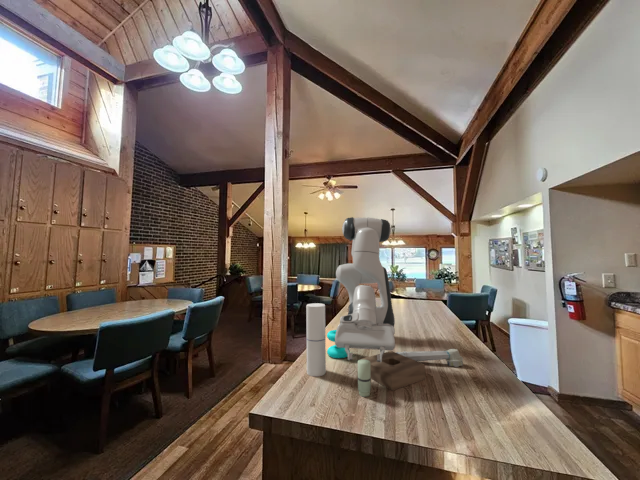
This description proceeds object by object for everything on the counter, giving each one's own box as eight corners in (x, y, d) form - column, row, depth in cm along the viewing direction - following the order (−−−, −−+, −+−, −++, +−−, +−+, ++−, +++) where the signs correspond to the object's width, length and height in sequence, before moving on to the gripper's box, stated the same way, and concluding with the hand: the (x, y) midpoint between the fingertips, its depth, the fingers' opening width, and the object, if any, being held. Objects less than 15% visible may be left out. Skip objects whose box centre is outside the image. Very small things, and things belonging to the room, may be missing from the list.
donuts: (340, 327, 128) (354, 332, 120) (340, 349, 128) (354, 356, 119) (322, 331, 123) (335, 336, 114) (322, 354, 122) (335, 361, 114)
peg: (355, 393, 88) (354, 361, 88) (365, 389, 90) (364, 358, 90) (363, 398, 84) (363, 365, 85) (373, 395, 86) (373, 362, 87)
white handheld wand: (395, 350, 116) (458, 344, 112) (398, 366, 116) (461, 361, 111) (396, 354, 111) (462, 349, 107) (399, 371, 110) (465, 366, 106)
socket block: (360, 372, 103) (360, 358, 103) (391, 363, 111) (391, 350, 111) (392, 390, 89) (391, 374, 89) (425, 378, 97) (424, 364, 98)
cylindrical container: (303, 374, 101) (303, 306, 103) (310, 367, 108) (310, 302, 109) (321, 377, 99) (321, 307, 100) (328, 369, 106) (327, 303, 107)
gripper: (393, 328, 100) (396, 366, 90) (337, 326, 103) (334, 362, 93) (394, 319, 96) (398, 357, 86) (336, 316, 99) (333, 353, 89)
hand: (364, 360), depth 90 cm, fingers open, 8 cm apart
